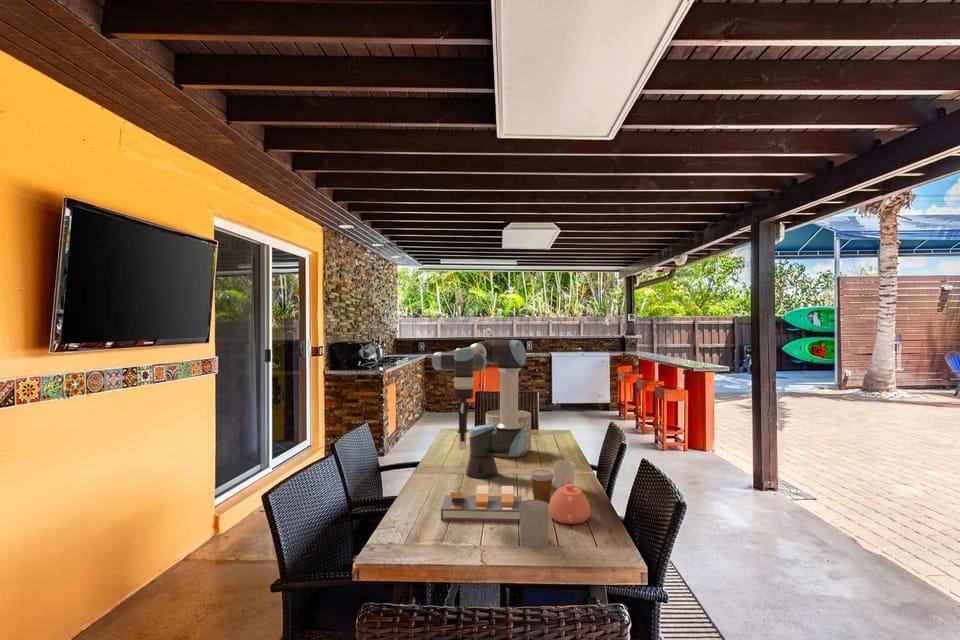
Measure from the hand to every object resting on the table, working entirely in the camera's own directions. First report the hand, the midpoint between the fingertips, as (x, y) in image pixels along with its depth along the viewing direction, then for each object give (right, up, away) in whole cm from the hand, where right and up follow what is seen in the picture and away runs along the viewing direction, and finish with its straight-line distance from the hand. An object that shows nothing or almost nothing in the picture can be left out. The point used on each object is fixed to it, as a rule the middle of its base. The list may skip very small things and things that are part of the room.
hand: (462, 449), depth 202 cm
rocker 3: (+17, -17, -2) cm, 24 cm away
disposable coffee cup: (+32, -24, +10) cm, 41 cm away
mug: (+44, -24, +29) cm, 58 cm away
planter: (+23, -25, +92) cm, 98 cm away
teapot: (+40, -24, -7) cm, 47 cm away
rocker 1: (-2, -17, -1) cm, 17 cm away
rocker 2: (+8, -17, -2) cm, 19 cm away
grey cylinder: (+25, -24, -28) cm, 45 cm away
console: (+8, -24, -2) cm, 25 cm away
